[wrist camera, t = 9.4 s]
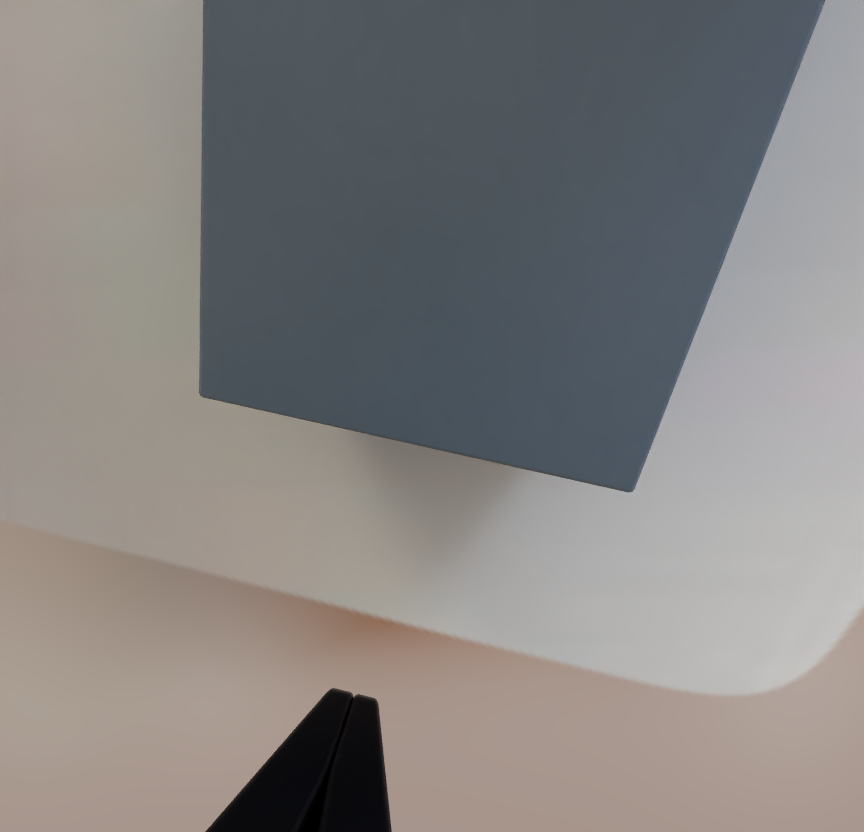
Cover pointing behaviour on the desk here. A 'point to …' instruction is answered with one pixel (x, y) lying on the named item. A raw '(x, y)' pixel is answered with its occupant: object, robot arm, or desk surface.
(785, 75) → the storage box
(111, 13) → the desk surface
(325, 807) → the robot arm
